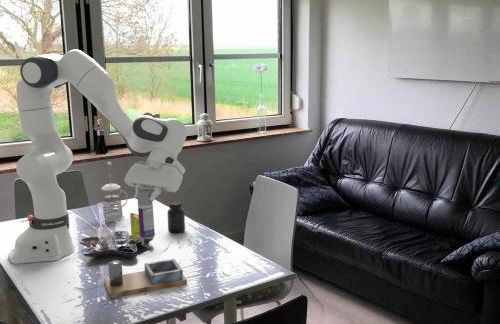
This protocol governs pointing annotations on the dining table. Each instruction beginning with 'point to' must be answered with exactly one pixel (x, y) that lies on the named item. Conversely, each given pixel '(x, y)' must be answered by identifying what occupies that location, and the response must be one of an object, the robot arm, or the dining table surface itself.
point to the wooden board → (149, 279)
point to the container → (145, 215)
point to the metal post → (115, 273)
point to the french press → (112, 213)
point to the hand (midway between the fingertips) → (143, 199)
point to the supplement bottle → (176, 218)
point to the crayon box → (136, 229)
